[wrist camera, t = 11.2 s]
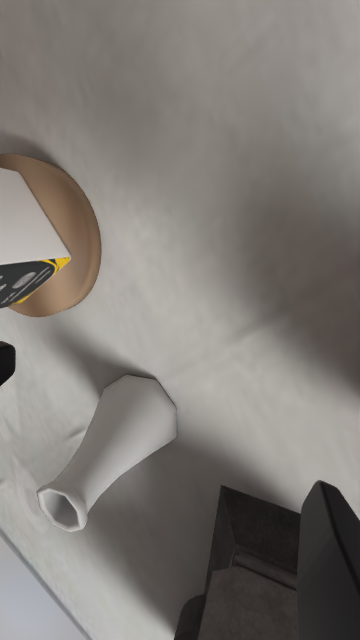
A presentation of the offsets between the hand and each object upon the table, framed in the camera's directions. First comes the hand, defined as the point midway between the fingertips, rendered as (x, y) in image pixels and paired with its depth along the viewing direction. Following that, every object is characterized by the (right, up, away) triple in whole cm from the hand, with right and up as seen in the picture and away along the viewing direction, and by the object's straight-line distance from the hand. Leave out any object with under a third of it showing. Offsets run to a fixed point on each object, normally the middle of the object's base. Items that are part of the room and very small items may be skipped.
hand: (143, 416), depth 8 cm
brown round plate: (-11, +9, +16) cm, 21 cm away
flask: (-2, -5, +17) cm, 18 cm away
